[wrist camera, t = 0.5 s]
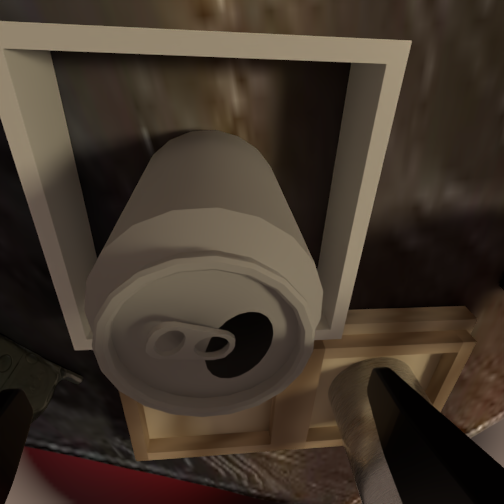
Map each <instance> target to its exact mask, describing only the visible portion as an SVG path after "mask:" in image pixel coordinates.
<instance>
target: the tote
mask: <svg viewBox="0 0 504 504" xmlns="http://www.w3.org/2000/svg"><path fill="white" fill-rule="evenodd" d="M411 42H412V41H407V40H386V39H365V38H344V37H323V36H302V35H281V34H260V33H239V32H217V31H196V30H175V29H154V28H133V27H112V26H91V25H70V24H49V23H28V22H7V21H0V118H1V121H2V124H3V127H4V131H5V134H6V137H7V140H8V143H9V146H10V149H11V153H12V156H13V159H14V162H15V165H16V168H17V171H18V174H19V178H20V181H21V184H22V187H23V190H24V193H25V196H26V200H27V203H28V206H29V209H30V212H31V215H32V218H33V221H34V225H35V228H36V231H37V234H38V237H39V240H40V243H41V247H42V250H43V253H44V256H45V259H46V262H47V265H48V268H49V272H50V275H51V278H52V281H53V284H54V287H55V290H56V294H57V297H58V300H59V303H60V306H61V309H62V312H63V315H64V319H65V322H66V325H67V328H68V331H69V334H70V337H71V341H72V344H73V347H74V350H93V348H92V338H93V334H92V331H91V328H90V325H89V323H88V320H87V317H86V314H85V312H84V306H85V291H86V280H87V278H88V276H89V274H90V272H91V270H92V268H93V266H94V265H95V263H96V261H97V256H96V251H95V247H94V242H93V238H92V234H91V229H90V225H89V220H88V216H87V212H86V207H85V203H84V199H83V194H82V190H81V185H80V181H79V177H78V172H77V168H76V163H75V159H74V155H73V150H72V146H71V141H70V137H69V133H68V128H67V124H66V120H65V115H64V111H63V106H62V102H61V98H60V93H59V89H58V84H57V80H56V76H55V71H54V67H53V62H52V58H51V54H50V50H53V51H78V52H103V53H128V54H153V55H178V56H203V57H228V58H253V59H278V60H303V61H328V62H351V67H350V73H349V79H348V85H347V92H346V98H345V104H344V110H343V116H342V122H341V128H340V134H339V140H338V146H337V153H336V159H335V165H334V171H333V177H332V183H331V189H330V195H329V201H328V208H327V214H326V220H325V226H324V232H323V238H322V244H321V250H320V256H319V263H318V269H317V272H318V276H319V279H320V282H321V285H322V288H323V300H322V310H321V319H320V321H319V323H318V325H317V327H316V329H315V336H314V340H329V339H341V338H342V334H343V330H344V326H345V321H346V317H347V313H348V309H349V305H350V300H351V296H352V292H353V288H354V283H355V279H356V275H357V271H358V266H359V262H360V258H361V254H362V250H363V245H364V241H365V237H366V233H367V228H368V224H369V220H370V216H371V212H372V207H373V203H374V199H375V195H376V190H377V186H378V182H379V178H380V173H381V169H382V165H383V161H384V157H385V152H386V148H387V144H388V140H389V135H390V131H391V127H392V123H393V118H394V114H395V110H396V106H397V102H398V97H399V93H400V89H401V85H402V80H403V76H404V72H405V68H406V63H407V59H408V55H409V51H410V47H411Z"/></svg>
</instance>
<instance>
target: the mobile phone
mask: <svg viewBox="0 0 504 504" xmlns="http://www.w3.org/2000/svg"><path fill="white" fill-rule="evenodd" d="M61 380H68V381H70V382H72V383H74V384H78V385H79V384H80V383H81V382H82V380H83V377H82V376H80V375H78V374H76V373H74V372H72V371H70V370H68V369H65V368H63V367H61V366H59V365H57V364H55V363H53V362H51V361H49V360H46V359H44V358H42V357H41V356H40V355H38V354H36V353H34V352H33V351H31V350H29V349H27V348H25V347H23V346H21V345H19V344H17V343H15V342H14V341H12V340H10V339H9V338H7V337H5V336H3V335H1V334H0V392H1V391H2V390H5V389H14V388H21V389H23V390H24V391H25V393H26V395H27V397H28V399H29V401H30V403H31V405H32V408H33V418H32V421H31V423H32V422H33V421H35V420H36V419H37V418H38V417H39V416H40V415H41V414H42V413H43V412H44V410H45V409H46V408H47V406H48V404H49V402H50V400H51V398H52V396H53V393H54V390H55V387H56V385H57V383H58V382H59V381H61Z"/></svg>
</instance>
